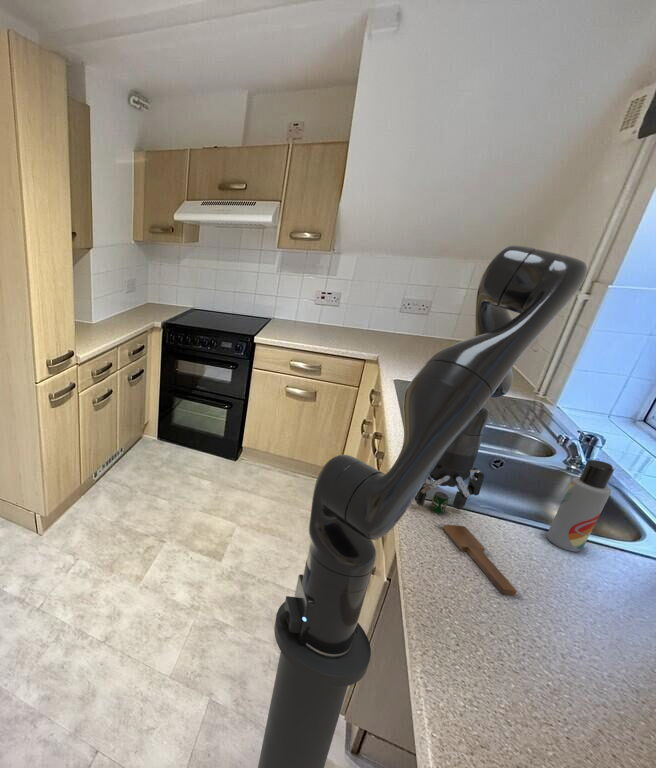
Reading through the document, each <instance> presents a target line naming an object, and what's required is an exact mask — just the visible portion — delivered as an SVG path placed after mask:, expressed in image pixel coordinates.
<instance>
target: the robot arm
mask: <svg viewBox="0 0 656 768" xmlns="http://www.w3.org/2000/svg"><path fill="white" fill-rule="evenodd" d="M587 275H588V266H587V264H586V262H584V261H583V260H581V259H578V258H575V257H573V256H570V255H565V254H561V253H557V252H552V251H549V250H543V249H539V248H534V247H530V246H526V245H525V246H524V245H517V244H516V245H514V244H513V245H508V246H506V247H504V248H502V249H501V250H500V251H498V252H497V254H496V255H495V256H494V257H493V258H492V259H491V261H489V263H488V265H487V267H486V268H485V269H484V271H483V273H482V275H481V277H480V280H479V281H478V286H477V290H476V295H475V308H474V309H475V311H474V332H473V337H470V338H467V339H464V340H461V341H459V342H457V343H454V344H451V345H449V346H447V347H445V348H442V349H440V350H439V351H437V352H435V353H434V354H433V355H432V356H430V358H428V360H427V361H426V362H425V364H424V365H422V367H421V368H420V369H419V371H418V372H417V373H416V374H415V376H414V377H413V378H412V379H411V381H410V382H409V384H408V385H407V387H406V388H405V392H404V395H403V405H402V407H403V408H402V409H403V410H402V411H403V412H402V413H403V442H402V447H401V449H400V452H399V454H398V456H397V458H396V460H395V462H394V463H393V465H392V466H391V468H390V469H389V470H388V471H387V472H386V473H384V472H383V471H381V470H379V469H377V468H375V467H374V466H371V465H369V464H367V463H366V462H364V461H362V460H360V459H359V458H356V457H354V456H352V455H349V454H339V455H335V456H333V457H332V458H330V459H329V460H328V461H326V463H325V464H324V465H323V467H322V468H321V470H320V471H319V473H318V476H317V478H316V481H315V484H314V488H313V493H312V500H311V509H310V514H309V515H310V516H309V523H308V536H309V539H310V541H309V545H308V551H307V556H306V560H305V566H304V570H303V574H300V573H299V575H298V577H297V581H296V586H295V592H294V596H289V595H286V596H285V600H284V602H285V605H284V608H285V612H284V613H282V614H281V615H280V618H279V620H280V623H281V624H282V626H283V627H284V628H287V627H288V626H289V631H290V632H294V633H295V634H296V639H297V643H298V645H299V646H304V647H306V648H308V649H309V650H310V651H312V652H313V653H315V654H317V655H319V656H322V657H325V658H331V659H337V658H342V657H344V656H346V655H347V654H348V653H349V652H350V650H351V647H352V643H353V638H354V634H355V631H356V634H357V630H358V627H357V623H359V620H360V615H361V613H362V609H363V605H364V601H365V597H366V594H367V590H368V587H369V583H370V580H371V576H372V574H373V570H374V566H375V561H376V560H377V551H376V550H377V549H376V546H375V544H374V542H373V540H379V539H380V538H383V537H384V536H386V535H387V534H389V532H390V531H391V530H392V529H393V528H395V526H396V525H397V524H398V523H399V521H400V520H401V519H402V517H403V516H404V515H405V513H406V511H407V510H409V508H410V506H411V505H412V503H413V501H415V503H416V504H417V506H418V507H423V506H424V504H425V501H426V498H427V495H428V494H427V493H428V492H429V491H430V490H432V489H433V490H434V489H436V488H438V487H439V486H440V487H450V488H455V487H456V488H457V490H458V491H456V493H455V495H454V499H453V502H452V505H453V506H454V507H455V509H456V510H462V509H463V508H464V507H465V505H466V502H467V500H468V498H469V497H470V496H479V495H480V492H481V489H482V486H483V482H484V478H485V474H484V473H483V472H482V471H481V470H479V468H477V467H474V464H475V461H476V459H477V456H478V454H479V450H480V447H481V445H482V439H483V435H484V431H485V429H486V425H487V423H488V420H489V416H490V410H489V409H488V408H487V407H486V406H485V405H486V404H487V403H488V401H489V400H490V399H491V398H492V399H495V398H501V397H503V396H506V395H507V394H508V393H509V392H510V390H511V388H512V386H513V380H514V376H513V375H514V374H513V369H512V368H513V367H514V366H515V365H516V363H517V361H518V360H519V359H520V358H521V356H522V355H523V354H524V353H525V352H526V351H527V350H528V348H529V347H530V346H531V345H532V344H533V342H534V341H535V340H536V339H537V338H538V337H539V335H540V334H542V333H543V331H544V330H545V329H546V328H547V327H548V325H550V323H552V321H553V320H554V319H555V318H556V317H557V316H558V315H559V314H560V313H561V312H562V310H563V309H564V308H565V307H566V306H567V305H568V303H569V302H570V301H571V300H572V299H573V298H574V297H575V295H576V294H577V292H578V291H579V289H580V288H581V287H582V285H583V283H584V282H585V280H586V277H587ZM509 311H511V312H513V313H517V314H518V315H517V316H515V317H514V318H512V316H511V314H510V312H509ZM467 479H469V480H468V483H467V485H466V483H465V481H466V480H467ZM431 480H433V481H431ZM286 618H287V622H288V624H287V622H286V621H285V619H286Z"/></svg>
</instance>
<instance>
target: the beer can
mask: <svg viewBox="0 0 656 768" xmlns="http://www.w3.org/2000/svg"><path fill="white" fill-rule="evenodd" d="M448 501H449V495H448V494H447V493H445V492H442V491H436V492H435V493H434V495H433V497H432V500H431V503H430V510H431V511H432V512H434V513H436V514H445V511H446V507H447V505H448Z"/></svg>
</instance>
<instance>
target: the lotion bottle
mask: <svg viewBox="0 0 656 768" xmlns="http://www.w3.org/2000/svg"><path fill="white" fill-rule="evenodd" d="M614 471H615V469H614V467H613V465H612V464H610V463H608V462H606V461H603V460H595V459H589V460H588V461H586V464H585V466H584V468H583V470H582V472H581V474H580V476H575V477H573V478H572V479H571V481H570V483H569V485H568V487H567V489H566V492H565V494H564V496H563V498H562V500H561V502H560V504H559V507H558V509H557V511H556V513H555V516H554V517H553V520H552V522H551V524H550V527H549V528H548V531H547V532H546V533H547V534H546V538H547V540H548V541H549V542H550V543H552V544H553V545H555V547H558V548H561V549H563V550H566V551H569V552H575V553H576V552H581V551H582V550H583V548H584V547H585V546H586V544H587V541H588V539H589V537H590V536H591V533H592V531H593V529H594V528H595V526H596V524H597V521H598V519H599V517H600V515H601V513H602V511H603V509H604V507H605V505H606V504H607V502H608V500H609V497H610V495H611V493H612V489H611V488H610V487H609V486H608V484H609V481H610V479H611V478H612V476H613V473H614Z"/></svg>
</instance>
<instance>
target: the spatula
mask: <svg viewBox="0 0 656 768" xmlns="http://www.w3.org/2000/svg"><path fill="white" fill-rule="evenodd" d="M442 529H443V531H444V532H445V533H446V534H447V536H448V537H449V538H450V539H451V541H452V542H453V543H454V544H455V546H456V547H457V548H458V549H459V551H461V552H466V553H467V554H468V555H469V557H470V558H471V559H472V560H473V561H474V562H475V564H476V565H477V566H478V567H479V569H480V570H481V571H482V572H483V573H484V574H485V576H486V577H487V578H488V579H489V581H490V582H491V583H492V585H494V586H495V588H496V589H497V590H498V592H500V594H501V595H507V596H516V594H517V592H518V591H517V589H516V588H515V587H514V586H513V585H512V583H511V582H510V581H509V579H507V578H506V577H505V575H504V574H503V573H502V572H501V571H500V569H498V567H497V566H496V565H495V564H494V563H493V562H492V561H491V559H489V557H488V556H487V555H486V554H485V553H484V551H485V549H486V548H485V547H484V546H483V545H482V544H481V542H479V540H478V539H477V538H476V537H475V535H473V534H472V532H470V530H469V529H468V528H467V527H466V526H465V525H455V524H443V526H442Z"/></svg>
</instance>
